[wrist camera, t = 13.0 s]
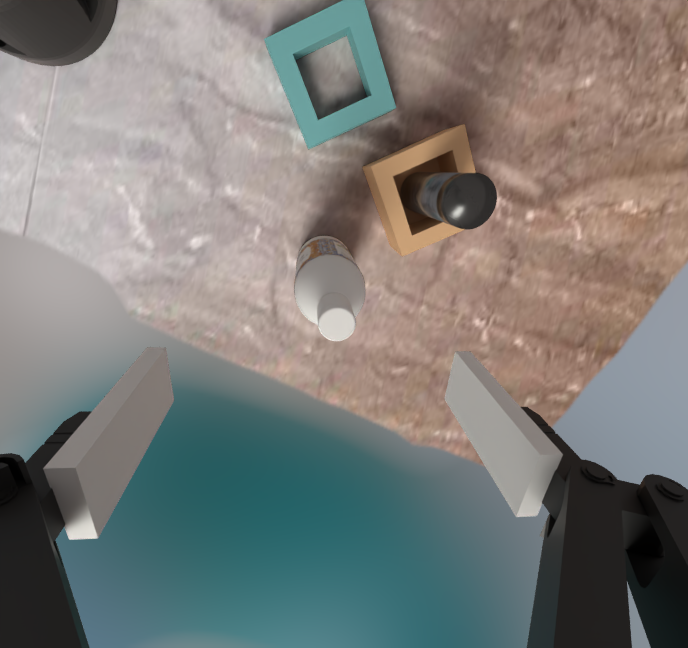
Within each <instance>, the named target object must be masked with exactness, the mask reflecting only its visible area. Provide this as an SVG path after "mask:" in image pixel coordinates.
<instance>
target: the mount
mask: <svg viewBox="0 0 688 648" xmlns="http://www.w3.org/2000/svg"><path fill="white" fill-rule="evenodd" d="M345 36H347V37H348V40H349V43H350V46H351V49H352V52H353V55H354V59H355V62H356V65H357V68H358V71H359V74H360V77H361V80H362V83H363V86H364V89H365V92H366V96H367V98H364V99H362V100H360V101H358V102H356V103H354V104H352V105H350V106H347V107H345V108H343V109H341V110H339V111H337V112H335V113H332V114H330V115H328V116H326V117H324V118H322V119H320V120H318V118H317V116H316V113H315V111H314V108H313V105H312V103H311V100H310V98H309V95H308V92H307V90H306V87H305V85H304V82H303V79H302V77H301V74H300V72H299V69H298V66H297V64H296V61H295V60H297V59H299V58H301V57H303V56H305V55H307V54H309V53H312V52H314V51H316V50H318V49H320V48H322V47H324V46H326V45H328V44H330V43H332V42H334V41H336V40H338V39H340V38H343V37H345ZM264 40H265V43H266V47H267V49H268V52H269V54H270V57H271V59H272V62H273V64H274V66H275V69H276V71H277V74H278V76H279V79H280V81H281V84H282V86H283V88H284V91H285V93H286V96H287V98H288V101H289V103H290V106H291V108H292V110H293V113H294V115H295V118H296V120H297V123H298V125H299V128H300V130H301V132H302V135H303V137H304V140H305V142H306V145H307V147H308V150H309V149H311V148H313V147H315V146H317V145H320V144H322V143H324V142H326V141H328V140H330V139H333V138H335V137H337V136H339V135H341V134H343V133H345V132H348V131H350V130H352V129H354V128H356V127H358V126H361V125H363V124H365V123H367V122H369V121H371V120H374V119H376V118H378V117H380V116H382V115H384V114H386V113H389V112H391V111H392V110H394V109H395V108H396V105H395V102H394V99H393V95H392V92H391V88H390V85H389V82H388V78H387V75H386V72H385V68H384V65H383V62H382V58H381V55H380V51H379V48H378V45H377V41H376V38H375V35H374V31H373V28H372V24H371V21H370V18H369V14H368V11H367V8H366V4H365V1H364V0H342V1H340V2H338V3H336V4H334V5H332V6H330V7H328V8H326V9H324V10H322V11H320V12H318V13H316V14H314V15H312V16H310V17H308V18H306V19H304V20H302V21H300V22H298V23H296V24H294V25H292V26H290V27H288V28H286V29H283V30H281V31H279V32H277V33H275V34H273V35H271V36H269V37H267V38H265V39H264Z"/></svg>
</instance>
